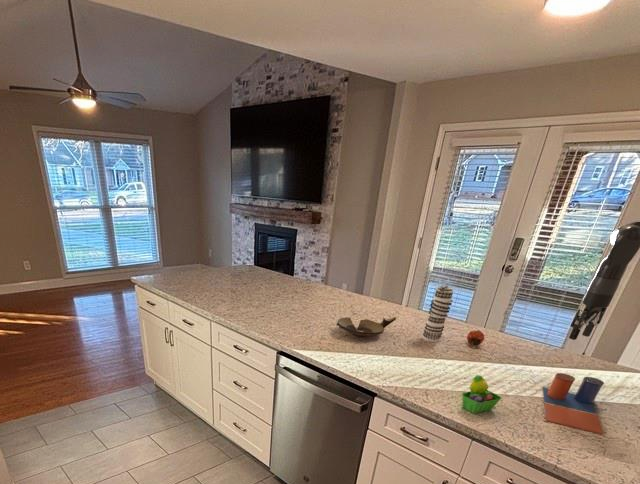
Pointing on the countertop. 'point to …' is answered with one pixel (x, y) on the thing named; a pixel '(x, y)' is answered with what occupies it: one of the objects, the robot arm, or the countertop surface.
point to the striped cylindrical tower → (438, 313)
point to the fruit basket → (479, 396)
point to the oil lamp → (364, 326)
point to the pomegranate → (475, 337)
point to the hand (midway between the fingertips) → (578, 337)
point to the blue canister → (588, 390)
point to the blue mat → (569, 402)
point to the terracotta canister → (560, 386)
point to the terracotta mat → (573, 418)
